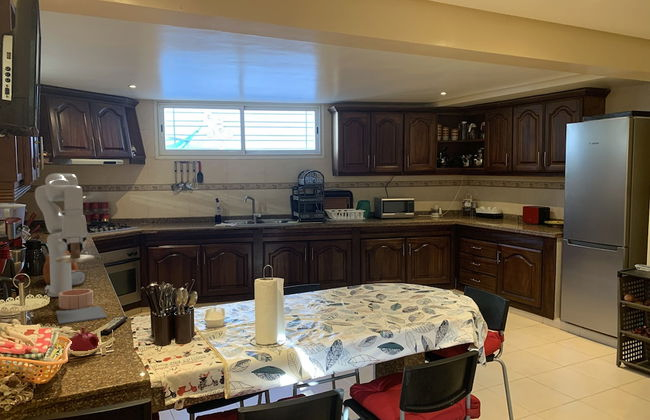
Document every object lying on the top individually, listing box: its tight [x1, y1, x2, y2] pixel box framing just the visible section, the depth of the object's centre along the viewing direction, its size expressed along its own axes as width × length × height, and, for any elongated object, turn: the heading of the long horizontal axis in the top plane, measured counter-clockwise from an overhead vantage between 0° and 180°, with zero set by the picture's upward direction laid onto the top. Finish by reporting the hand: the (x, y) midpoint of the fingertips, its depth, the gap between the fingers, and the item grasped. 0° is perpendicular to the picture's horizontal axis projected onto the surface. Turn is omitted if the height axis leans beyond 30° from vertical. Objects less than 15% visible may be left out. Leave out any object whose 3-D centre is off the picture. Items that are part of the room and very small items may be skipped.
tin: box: [71, 269, 87, 287], centre depth 268 cm, size 15×3×8 cm, turn 141°
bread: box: [42, 251, 79, 285], centre depth 282 cm, size 18×22×17 cm
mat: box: [55, 305, 108, 325], centre depth 213 cm, size 20×18×1 cm
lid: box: [56, 242, 95, 263], centre depth 227 cm, size 16×16×8 cm
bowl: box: [58, 288, 94, 310], centre depth 229 cm, size 14×14×6 cm
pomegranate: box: [69, 326, 100, 351], centre depth 167 cm, size 10×10×9 cm
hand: (74, 251), depth 227 cm, fingers closed on lid, 3 cm apart
